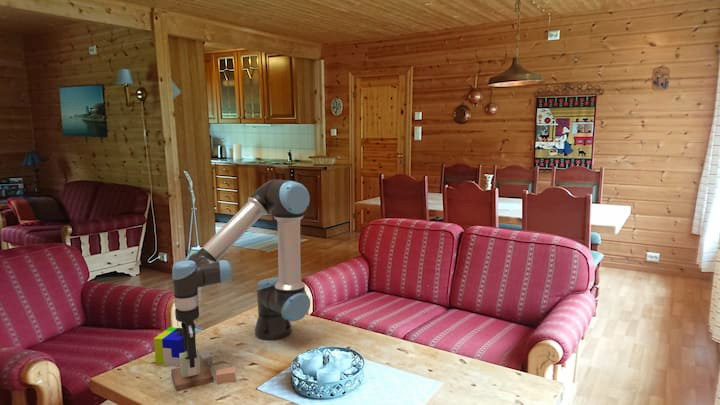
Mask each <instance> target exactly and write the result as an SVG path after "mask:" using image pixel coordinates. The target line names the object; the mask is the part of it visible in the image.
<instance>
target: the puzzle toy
mask: <svg viewBox="0 0 720 405" xmlns="http://www.w3.org/2000/svg"><path fill="white" fill-rule="evenodd" d="M153 345H154V355H155V357H154V358H155V365H161V364H162V365H163V366H171V365H172V366H174V367H180V358H179V353H184V352H186V351H185V350H184V348H185V347H184V346H183V345H184V342H183V333H182V327H173V326H172V327H171V326H170V327H167V329H165V330H164V331H163V332H161V333H159V334H158V335H157V336H155V337H154V338H153ZM172 366H171V367H172Z"/></svg>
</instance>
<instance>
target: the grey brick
mask: <svg viewBox="0 0 720 405" xmlns="http://www.w3.org/2000/svg"><path fill="white" fill-rule="evenodd" d="M198 352H199V355H200V363H202V362H206V361H207V363H208V365H209V367H211V366H213V365H214V363H213V362H214V361H213V355H212V354H211V352H210V351H209V350H208V349H206V350H202V351H198Z"/></svg>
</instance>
